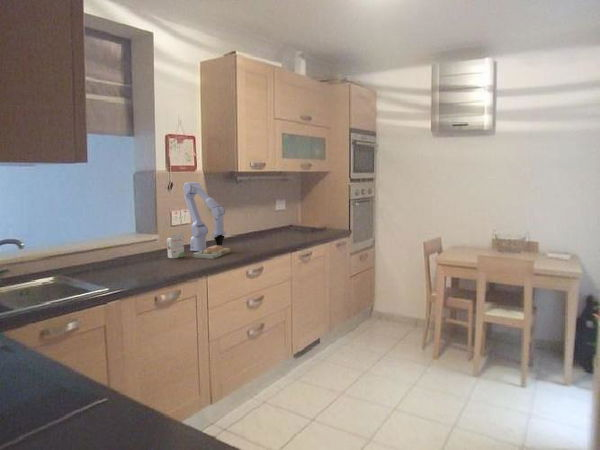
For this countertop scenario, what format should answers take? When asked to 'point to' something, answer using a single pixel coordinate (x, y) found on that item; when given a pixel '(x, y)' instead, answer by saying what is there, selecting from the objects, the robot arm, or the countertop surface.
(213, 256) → the tray
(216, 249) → the tile front
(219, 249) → the tile rear
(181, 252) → the ink box
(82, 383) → the countertop surface
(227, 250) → the beige square slab
